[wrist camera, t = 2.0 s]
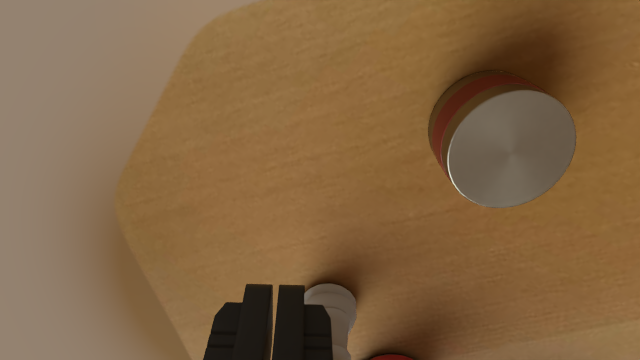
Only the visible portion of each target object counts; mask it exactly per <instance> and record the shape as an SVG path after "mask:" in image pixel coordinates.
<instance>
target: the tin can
mask: <svg viewBox="0 0 640 360" xmlns="http://www.w3.org/2000/svg"><path fill="white" fill-rule="evenodd" d="M428 136H429V142H430V146H431V149H432V151H433V153H434V155H435V156H436V159H437V161H438V163H439V164H440V166H441V167H442V169H443V171H444V172H445V174H446V175H447V177H448V178H449V180H450V181H451V182H452V183H453V185H454V186H455V188H456V189H457V190H458V191H459V193H460V194H461V195H463V196H464V197H465V198H466V199H468V200H470V201H472V202H474V203H476V204H479V205H482V206H486V207H492V208H506V207H513V206H518V205H521V204H524V203H527V202H529V201H531V200H533V199H535V198H537V197H539V196H541V195H542V194H543V193H545V192H546V191H548V190H549V189H550V188H551V187H552V186H553V185H554V184H555V183H556V182H557V181H558V180H559V179H560V178H561V177H562V175H563V174H564V173H565V171H566V169H567V168H568V166H569V164H570V162H571V160H572V157H573V154H574V151H575V145H576V131H575V125H574V122H573V119H572V117H571V115H570V113H569V111H568V110H567V109H566V107H565V106H564V105H563V104H562V103H561V102H560V101H558V100H557V99H555V98H554V97H552V96H551V95H549V94H548V93H547V92H545V91H544V90H542V89H540V88H539V87H537V86H535V85H533V84H532V83H530V82H528V81H526V80H524V79H522V78H519V77H517V76H515V75H513V74H511V73H507V72H503V71H483V72H478V73H475V74H472V75H469V76H467V77H465V78H463V79H461V80H459V81H458V82H456V83H455V84H454V85H452V86H451V87H450V88H449V89H448V90H447V91H446V92H445V93H444V94H443V95H442V96H441V98H440V99H439V100H438V102H437V104H436V105H435V107H434V109H433V112H432V114H431V117H430V121H429V127H428Z"/></svg>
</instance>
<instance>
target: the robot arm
mask: <svg viewBox="0 0 640 360" xmlns="http://www.w3.org/2000/svg"><path fill="white" fill-rule="evenodd" d="M304 292H305V285H279V293H278V303H277V313H276V323H275V334H274V344H273V354H272V360H333V350H332V329H331V318H330V316H329V314H328V313H327V311H326V309H325V308H324V306H323V305H317V304H304ZM272 329H273V286H272V285H267V284H247V285H246V288H245V293H244V298H243V303H233V302H226V303H225V304H224V306H223V307H222V308H221V309H220V310H219V312H218V313H217V314H216V315H215V318H214V321H213V325H212V329H211V335H210V336H209V340H208V344H207V348H206V351H205V355H204V359H203V360H270V357H271V347H272Z"/></svg>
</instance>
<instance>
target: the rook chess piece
mask: <svg viewBox="0 0 640 360" xmlns="http://www.w3.org/2000/svg"><path fill="white" fill-rule="evenodd" d="M304 304H317V305H323V306H324V308H325V309H326V311H327V313H328V314H329V316H330V318H331V329H332V350H333V360H351V355H350V354H349V352H348V351H347V341H348V334H349V333H350V330H351V328H352V327H353V325H354V322H355V320H356V300H355V298H354V297H353V295H352V294H351V292H350V291H348V290H347V289H345V288H344V287H342V286H340V285H336V284H332V283H325V284H319V285H317V286H314V287H312V288H310V289H309V290H308V291H307V292H306V293H305V294H304Z"/></svg>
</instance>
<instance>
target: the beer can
mask: <svg viewBox="0 0 640 360" xmlns="http://www.w3.org/2000/svg"><path fill="white" fill-rule="evenodd" d="M369 360H413V359H412V358H409V357H406V356H403V355H397V354H386V355H381V356H376V357H374V358H372V359H369Z"/></svg>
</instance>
